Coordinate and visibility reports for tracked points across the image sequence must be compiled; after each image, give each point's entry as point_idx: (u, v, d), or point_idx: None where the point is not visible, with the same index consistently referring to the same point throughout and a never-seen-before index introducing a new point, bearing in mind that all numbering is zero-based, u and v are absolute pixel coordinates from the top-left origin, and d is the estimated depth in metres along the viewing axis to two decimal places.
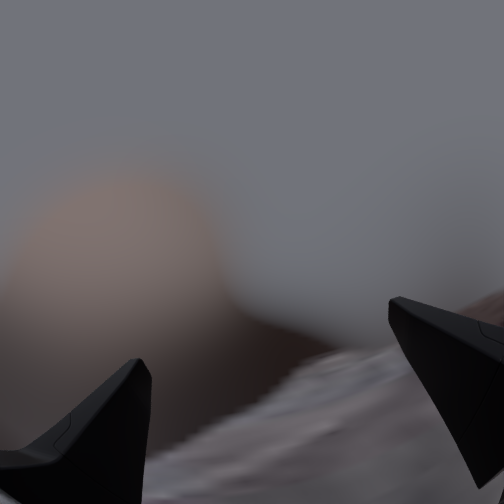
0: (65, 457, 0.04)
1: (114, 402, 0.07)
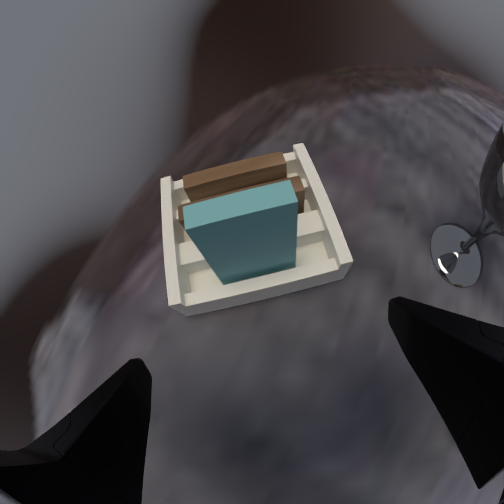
0: (65, 457, 0.04)
1: (114, 402, 0.07)
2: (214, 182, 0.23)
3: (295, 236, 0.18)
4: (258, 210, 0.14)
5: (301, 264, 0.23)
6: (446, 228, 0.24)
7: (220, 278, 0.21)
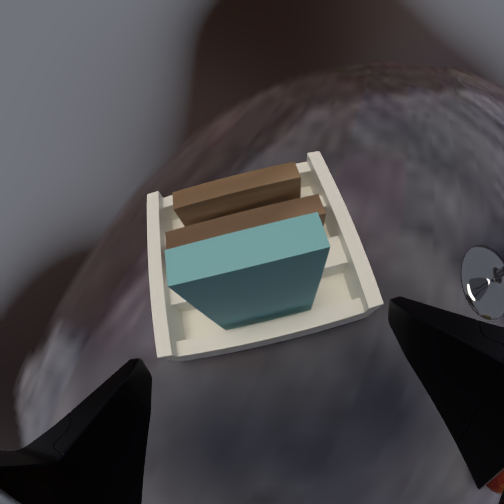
0: (65, 457, 0.04)
1: (114, 402, 0.07)
2: (211, 201, 0.19)
3: (318, 281, 0.13)
4: (273, 259, 0.10)
5: (318, 302, 0.19)
6: (477, 252, 0.19)
7: (219, 324, 0.17)
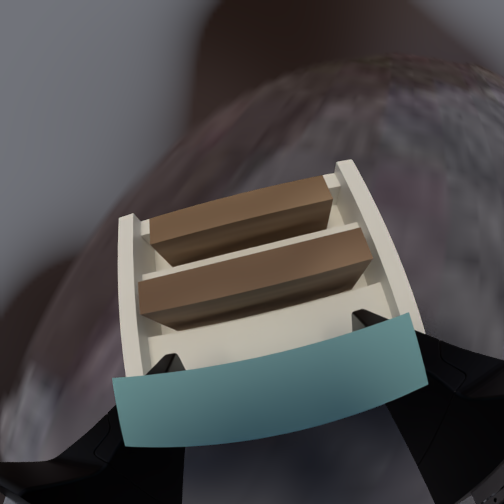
0: (109, 465, 0.04)
1: None
2: (203, 233, 0.13)
3: None
4: (324, 421, 0.04)
5: None
6: None
7: None
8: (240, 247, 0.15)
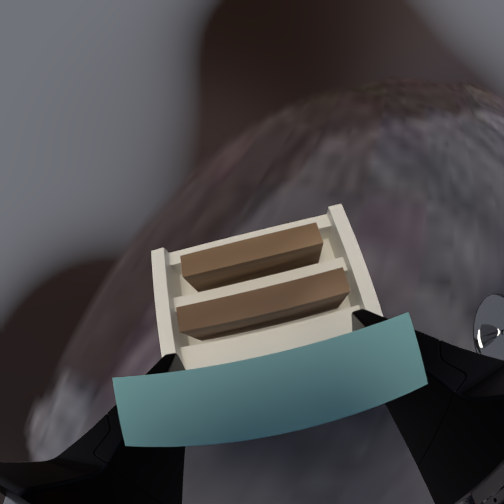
0: (109, 465, 0.04)
1: None
2: (224, 268, 0.17)
3: None
4: (323, 420, 0.04)
5: None
6: (491, 302, 0.18)
7: None
8: (251, 276, 0.20)
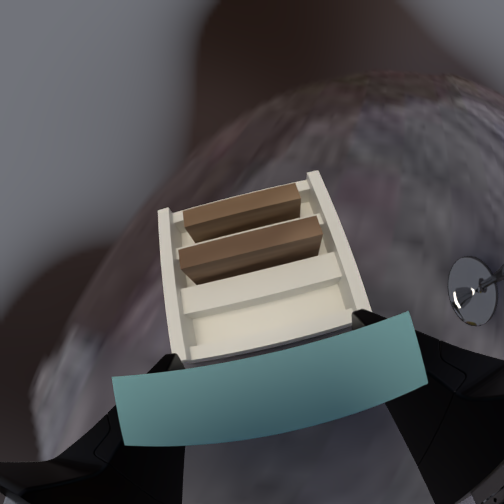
0: (109, 465, 0.04)
1: None
2: (219, 219, 0.21)
3: None
4: (323, 420, 0.04)
5: (315, 310, 0.21)
6: (464, 262, 0.21)
7: None
8: (242, 230, 0.23)
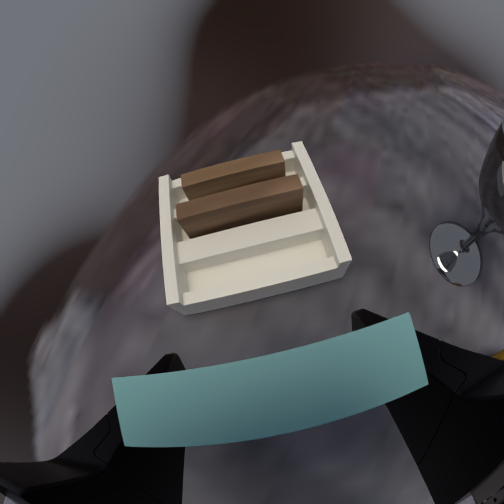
0: (109, 465, 0.04)
1: None
2: (212, 181, 0.23)
3: None
4: (323, 420, 0.04)
5: (300, 263, 0.23)
6: (445, 226, 0.24)
7: None
8: None
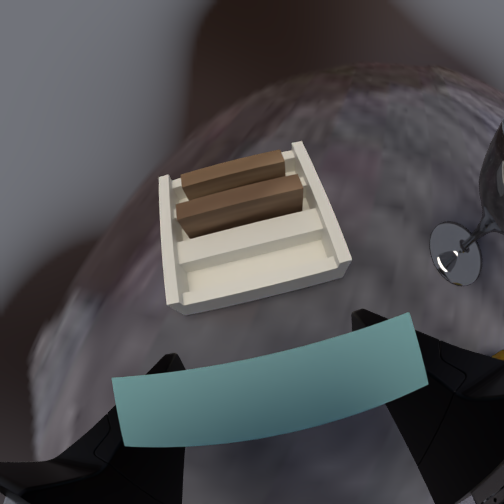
0: (109, 465, 0.04)
1: None
2: (212, 181, 0.23)
3: None
4: (323, 420, 0.04)
5: (300, 263, 0.23)
6: (445, 226, 0.24)
7: None
8: None
